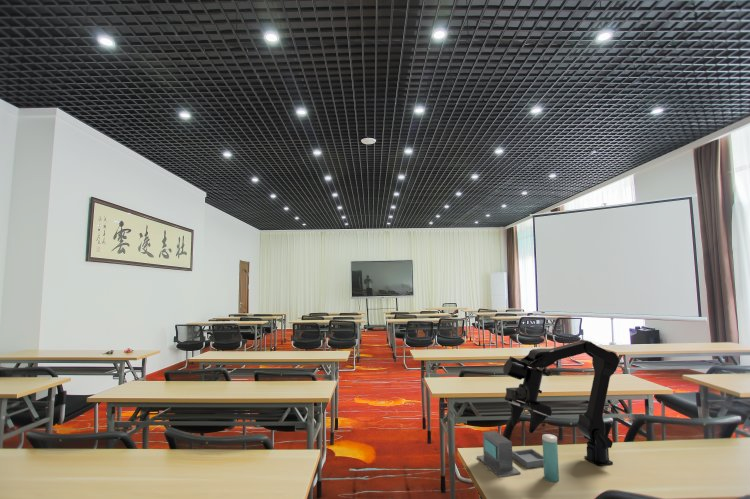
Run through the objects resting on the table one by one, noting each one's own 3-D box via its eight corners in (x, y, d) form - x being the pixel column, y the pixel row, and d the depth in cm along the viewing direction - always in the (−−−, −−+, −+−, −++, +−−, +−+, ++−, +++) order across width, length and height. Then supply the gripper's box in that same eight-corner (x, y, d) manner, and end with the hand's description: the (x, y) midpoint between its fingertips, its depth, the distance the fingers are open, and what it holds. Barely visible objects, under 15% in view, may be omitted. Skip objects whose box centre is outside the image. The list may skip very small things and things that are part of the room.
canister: (552, 474, 122) (550, 433, 124) (562, 480, 118) (560, 438, 119) (541, 475, 121) (539, 434, 122) (550, 482, 117) (548, 440, 118)
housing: (496, 455, 136) (495, 428, 137) (520, 473, 122) (519, 443, 123) (477, 457, 134) (476, 430, 135) (499, 477, 120) (498, 446, 121)
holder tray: (532, 454, 137) (531, 448, 137) (548, 465, 128) (548, 459, 129) (512, 457, 134) (511, 451, 135) (527, 468, 126) (527, 462, 126)
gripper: (497, 373, 140) (487, 415, 136) (529, 381, 122) (519, 429, 118) (522, 382, 142) (512, 424, 138) (557, 391, 124) (547, 439, 120)
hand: (521, 428), depth 129 cm, fingers open, 9 cm apart
